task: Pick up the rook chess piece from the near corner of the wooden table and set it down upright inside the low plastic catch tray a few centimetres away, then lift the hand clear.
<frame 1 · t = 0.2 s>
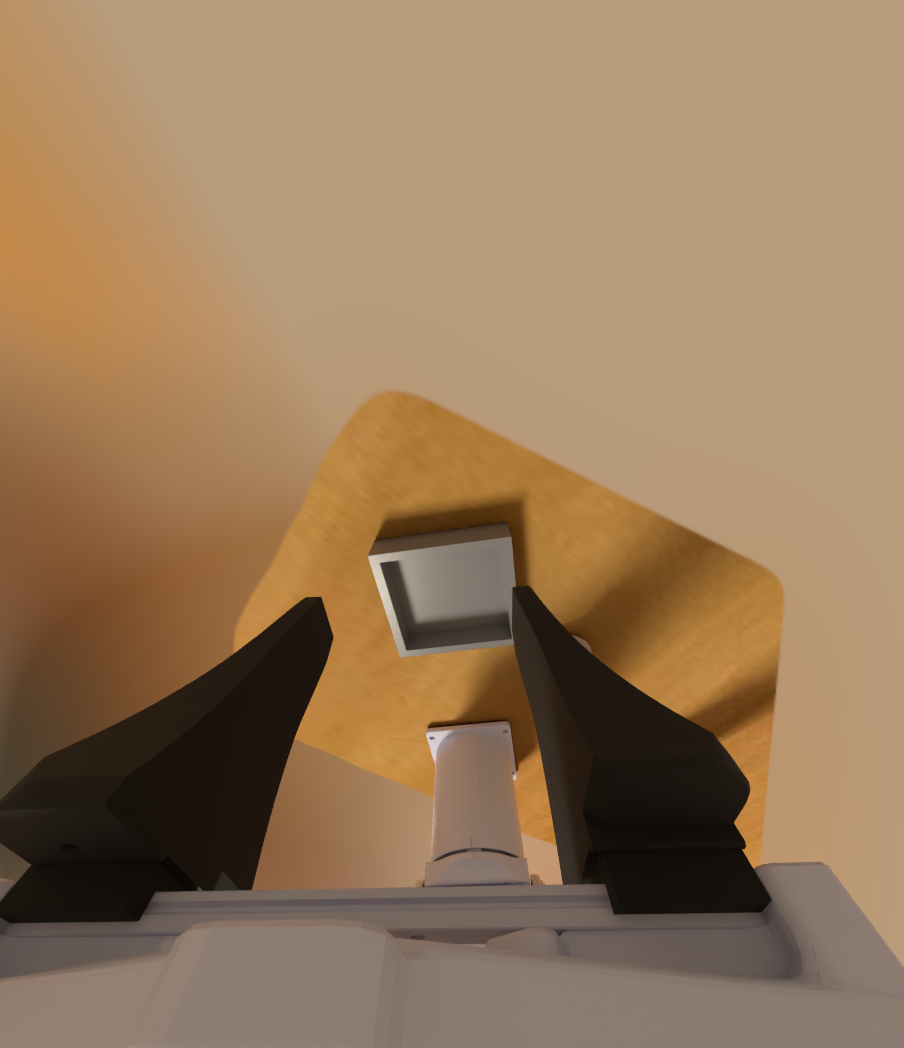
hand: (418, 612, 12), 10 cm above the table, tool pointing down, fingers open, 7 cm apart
catch tray: (450, 585, 24), on the table
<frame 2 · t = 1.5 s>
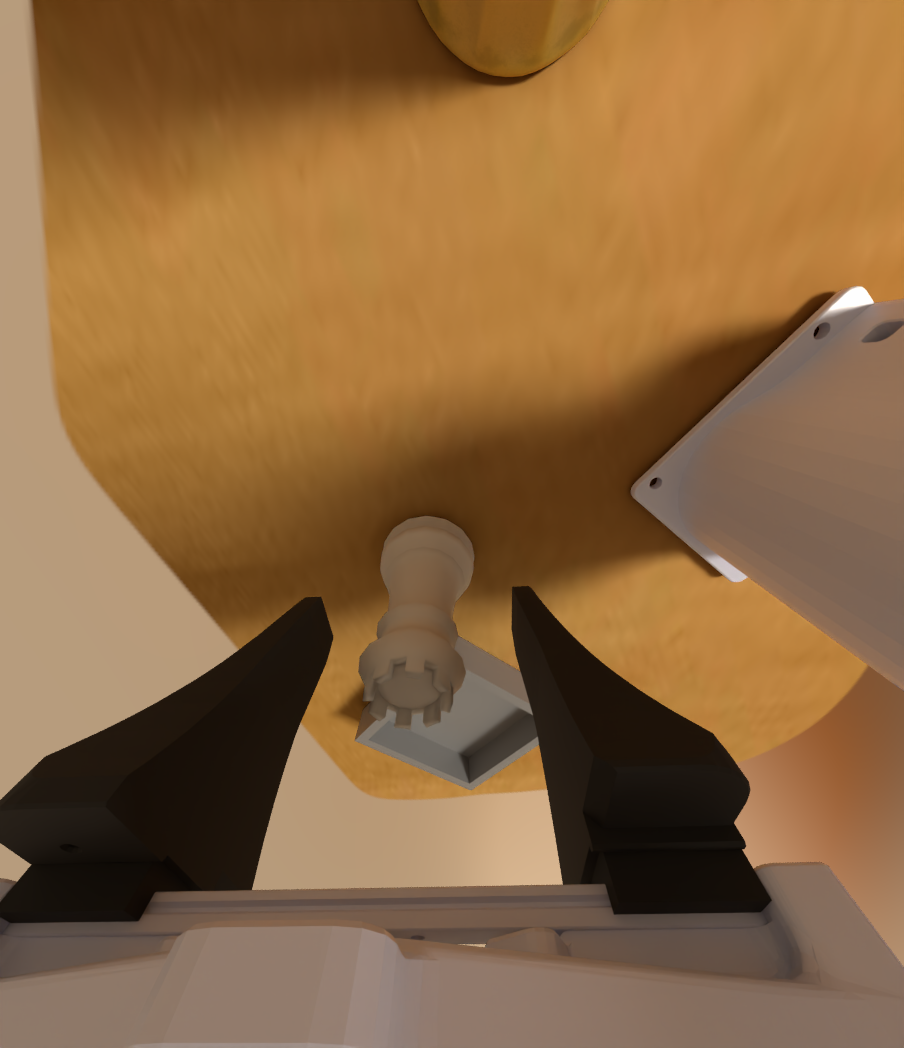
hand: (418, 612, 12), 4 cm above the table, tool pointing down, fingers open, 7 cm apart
rook chess piece: (429, 550, 16), on the table
catch tray: (458, 701, 21), on the table
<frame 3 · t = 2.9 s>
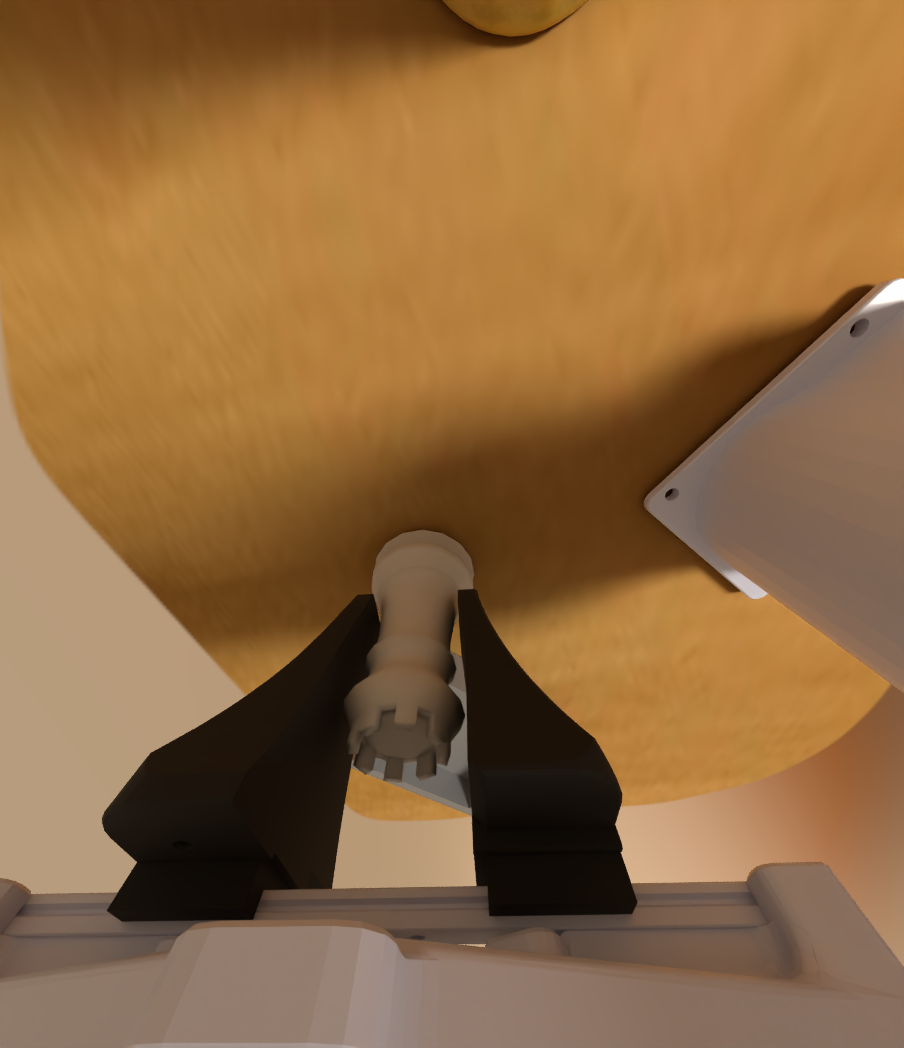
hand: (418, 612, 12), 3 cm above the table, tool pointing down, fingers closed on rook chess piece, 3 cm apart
rook chess piece: (425, 565, 15), on the table, touching gripper
catch tray: (457, 722, 20), on the table
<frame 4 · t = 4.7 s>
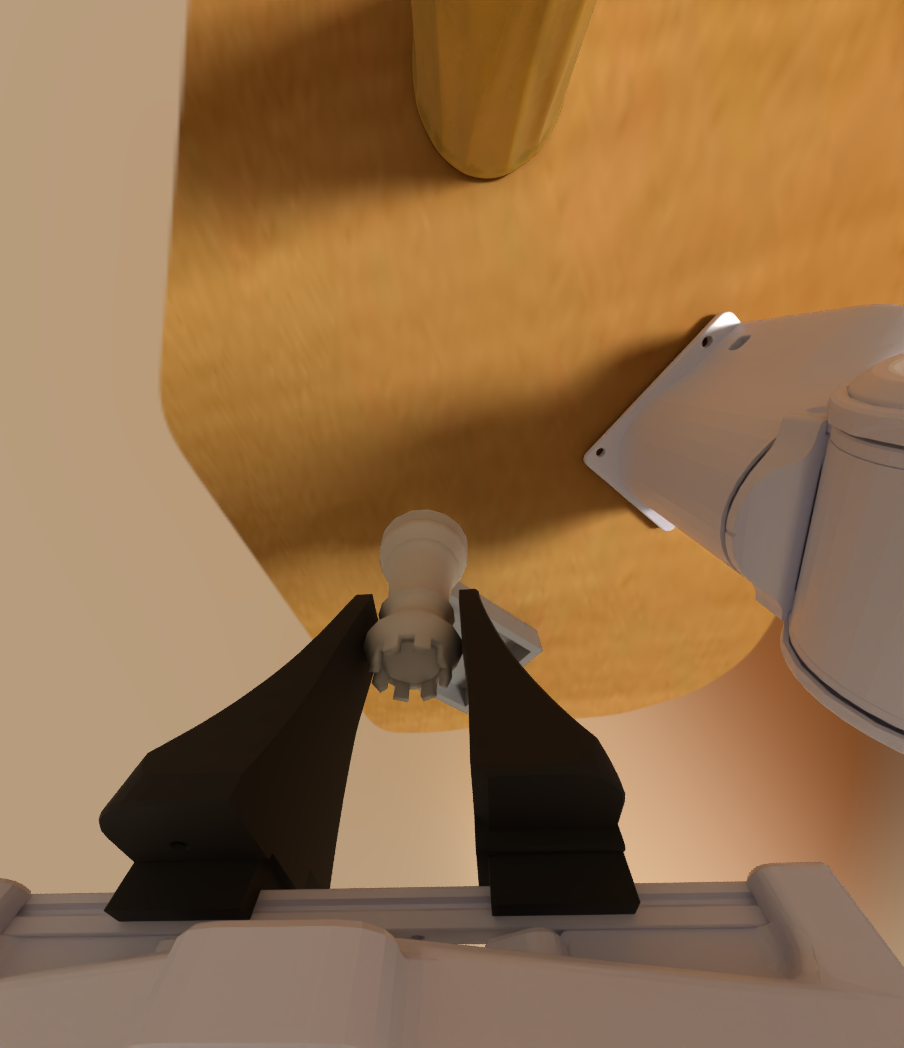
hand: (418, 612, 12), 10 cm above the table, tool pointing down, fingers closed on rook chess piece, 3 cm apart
vase: (489, 80, 13), on the table
rook chess piece: (425, 542, 17), point 4 cm above the table, touching gripper
catch tray: (456, 638, 26), on the table
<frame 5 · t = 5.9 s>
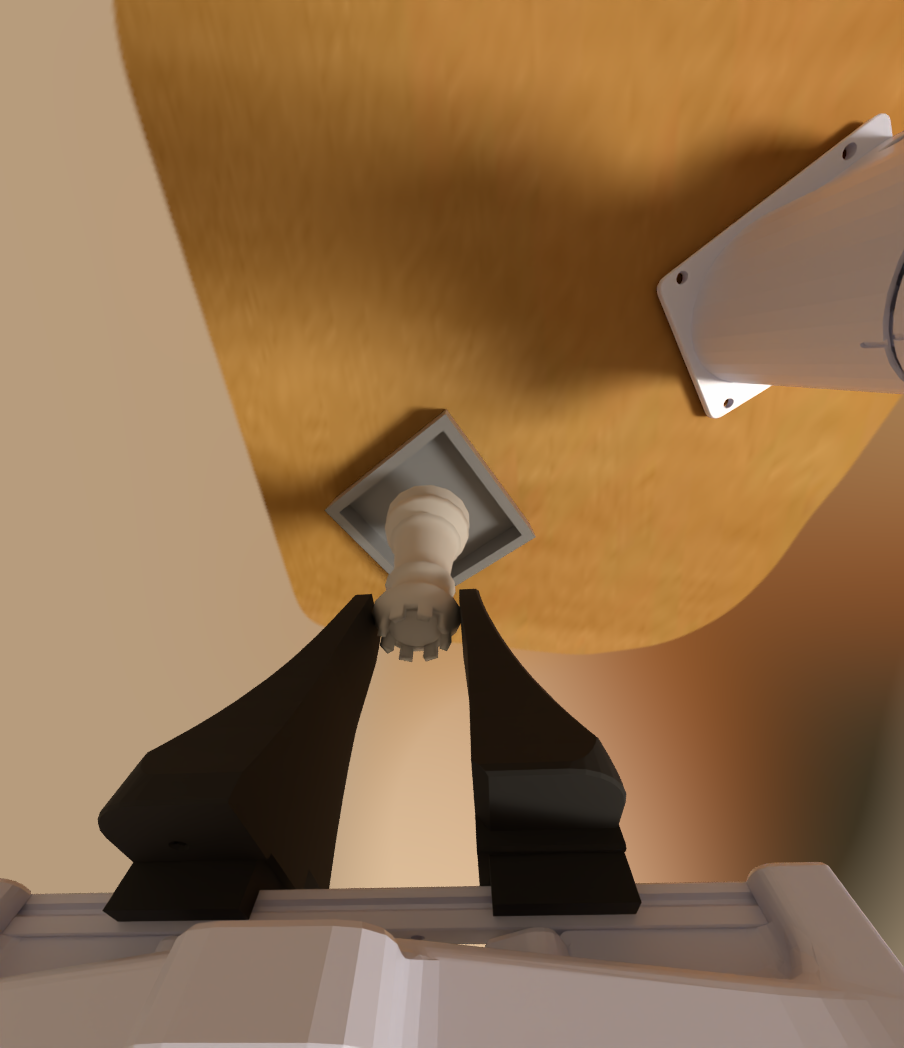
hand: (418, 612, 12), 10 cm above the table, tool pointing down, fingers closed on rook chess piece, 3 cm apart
rook chess piece: (428, 516, 18), point 3 cm above the table, touching gripper
catch tray: (433, 510, 21), on the table
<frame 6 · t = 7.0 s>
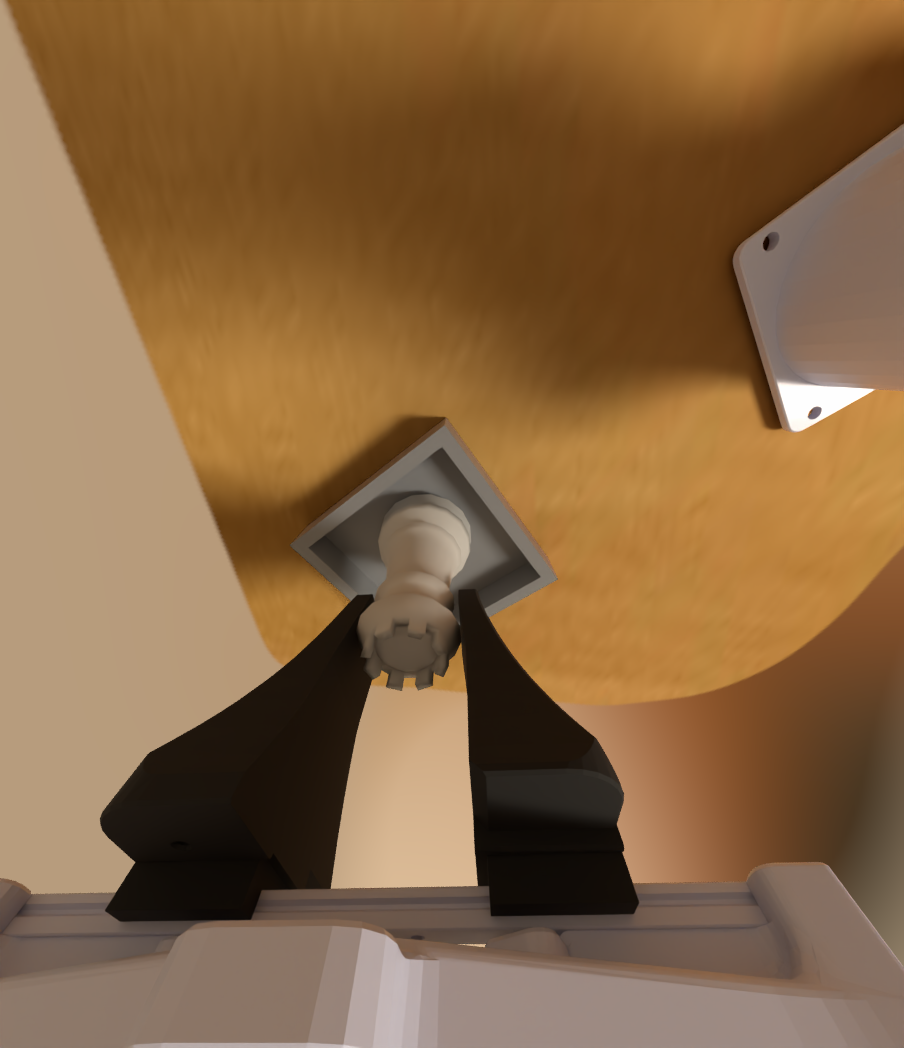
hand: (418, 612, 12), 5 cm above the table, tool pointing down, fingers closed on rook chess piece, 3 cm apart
rook chess piece: (427, 530, 17), resting on catch tray, touching gripper
catch tray: (429, 541, 17), on the table
when the fingers open (5 cm above the table, at t = 7.9 s): rook chess piece stays where it is, resting on catch tray.
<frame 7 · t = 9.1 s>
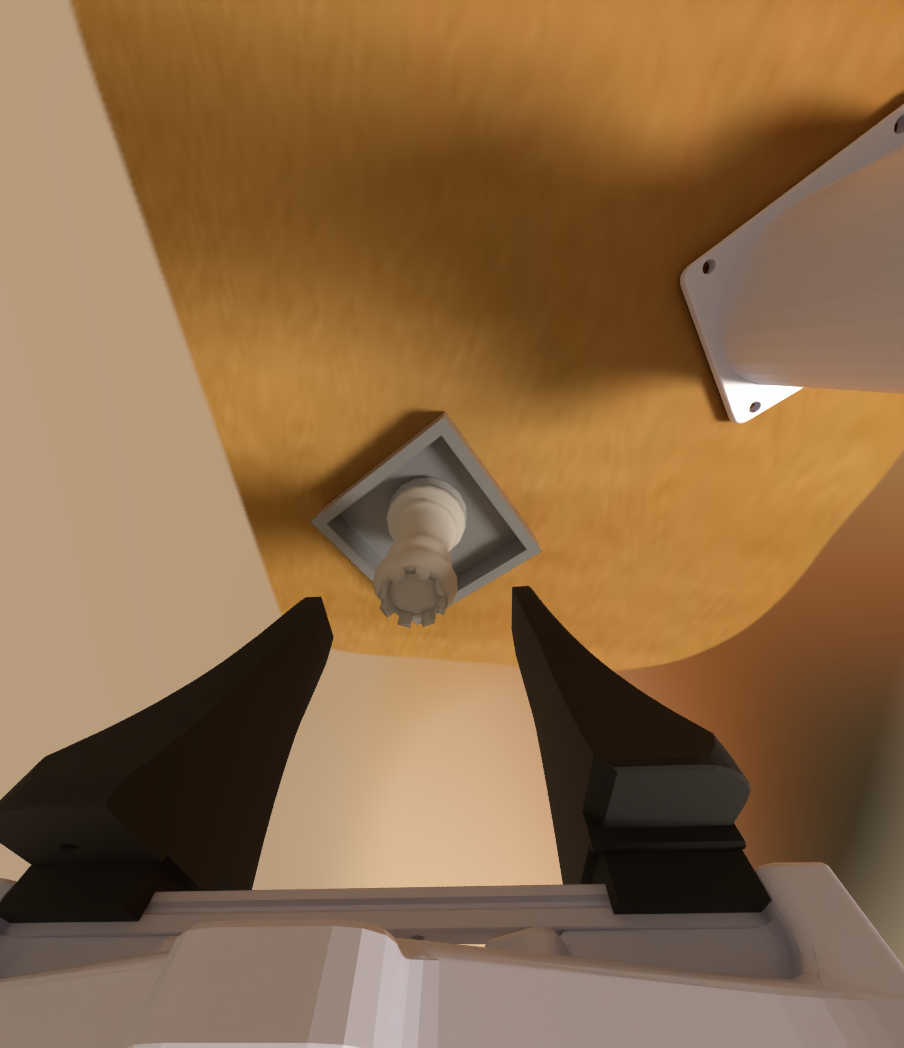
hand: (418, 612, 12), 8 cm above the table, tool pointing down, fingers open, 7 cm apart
rook chess piece: (428, 510, 19), resting on catch tray
catch tray: (430, 521, 20), on the table
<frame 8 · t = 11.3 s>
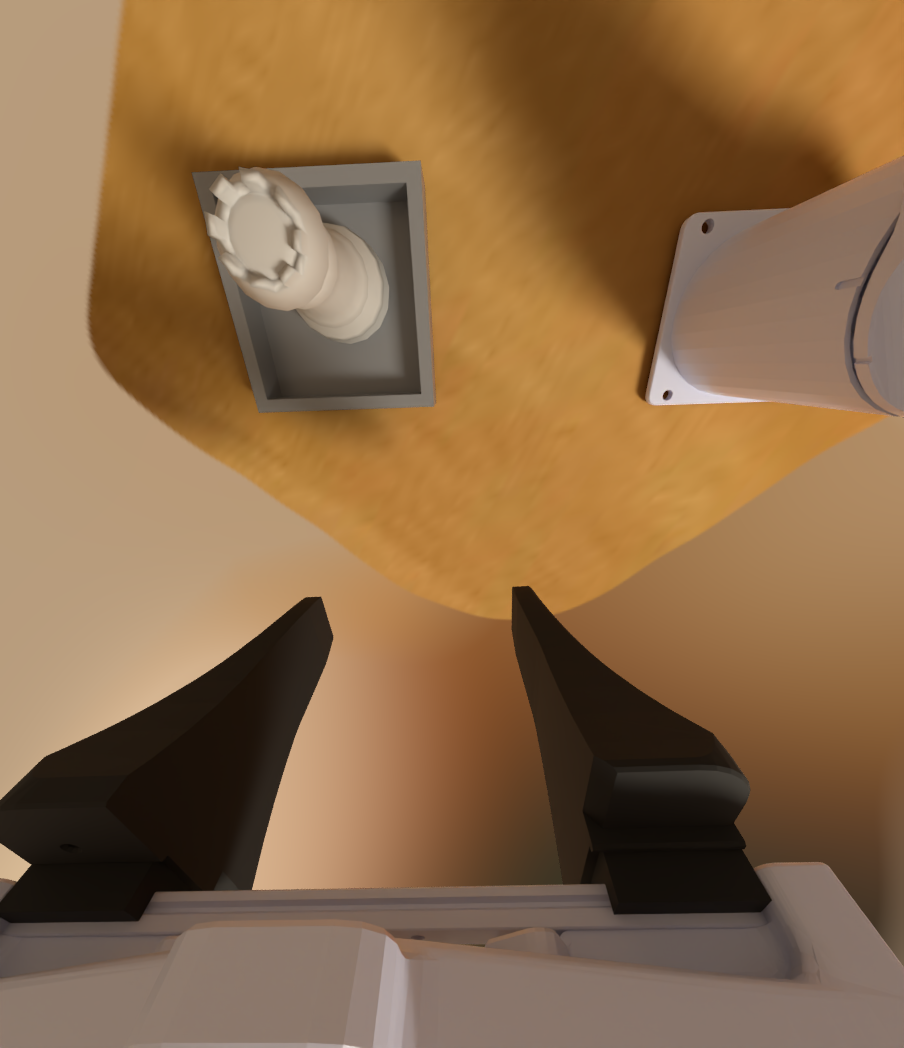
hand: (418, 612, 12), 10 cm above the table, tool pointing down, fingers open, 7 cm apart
rook chess piece: (346, 292, 16), resting on catch tray
catch tray: (342, 310, 17), on the table
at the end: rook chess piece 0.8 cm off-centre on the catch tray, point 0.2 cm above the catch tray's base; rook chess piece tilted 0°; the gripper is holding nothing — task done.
